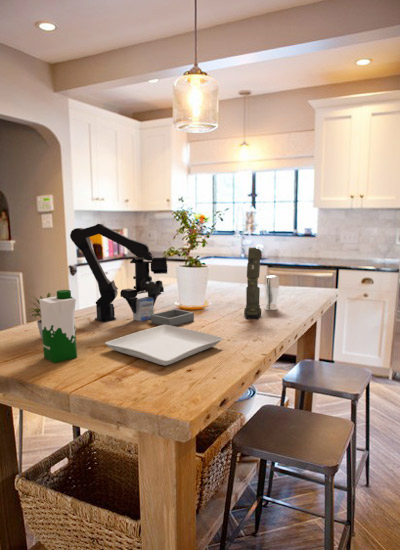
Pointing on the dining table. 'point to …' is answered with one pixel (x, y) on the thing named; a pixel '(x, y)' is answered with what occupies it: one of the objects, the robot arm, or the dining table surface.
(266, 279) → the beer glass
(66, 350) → the milk carton
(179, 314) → the bin
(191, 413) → the dining table surface
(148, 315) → the medicine box
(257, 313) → the mechanical leg
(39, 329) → the house plant
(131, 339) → the square plate
